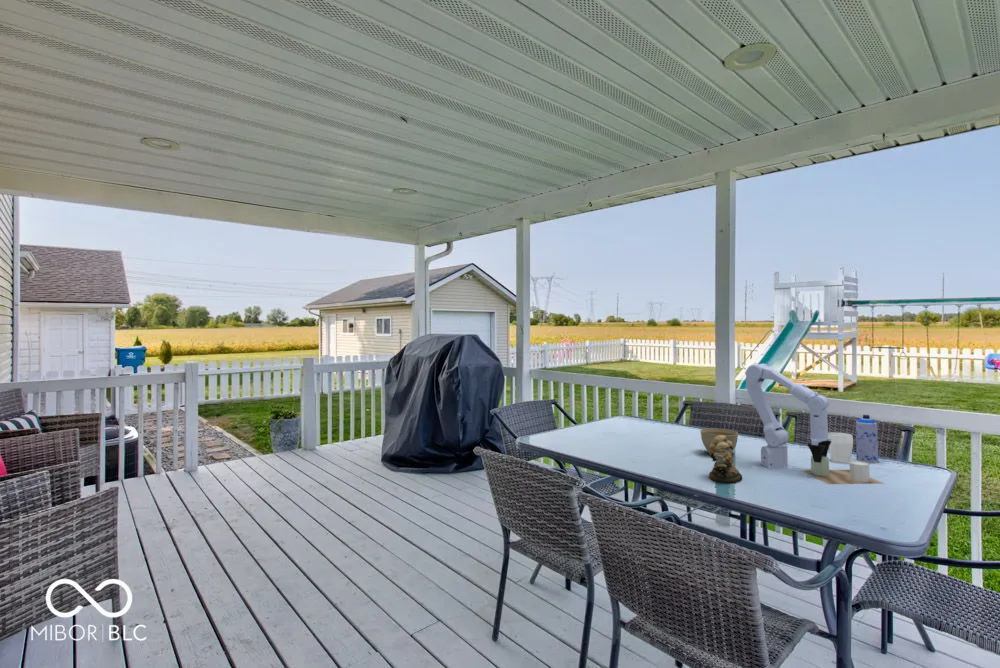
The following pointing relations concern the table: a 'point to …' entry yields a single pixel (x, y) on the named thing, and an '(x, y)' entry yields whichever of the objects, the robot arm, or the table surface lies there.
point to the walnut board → (839, 477)
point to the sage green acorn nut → (820, 466)
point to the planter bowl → (711, 433)
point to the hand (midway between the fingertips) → (820, 460)
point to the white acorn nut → (859, 471)
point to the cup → (840, 447)
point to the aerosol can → (867, 440)
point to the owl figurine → (723, 461)
